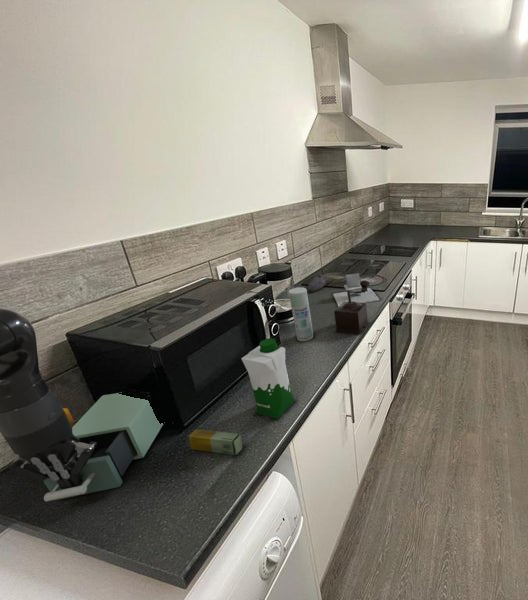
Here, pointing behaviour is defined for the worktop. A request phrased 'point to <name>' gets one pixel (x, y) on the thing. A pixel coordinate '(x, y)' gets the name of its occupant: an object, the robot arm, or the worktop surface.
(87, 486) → the green drawer
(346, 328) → the manual coffee grinder
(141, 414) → the green drawer housing
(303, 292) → the spray can
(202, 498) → the worktop surface
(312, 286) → the perforated stone tool
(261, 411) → the milk carton
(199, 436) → the medication box
